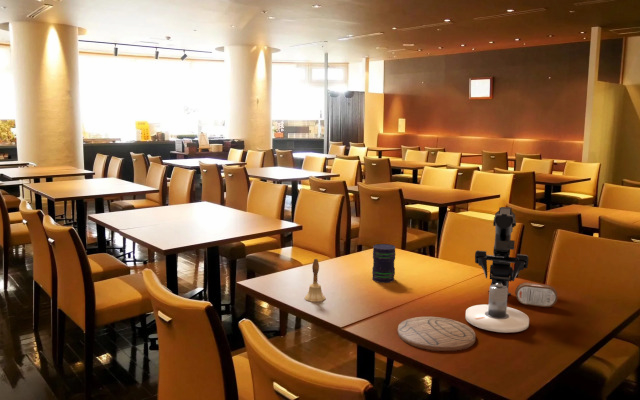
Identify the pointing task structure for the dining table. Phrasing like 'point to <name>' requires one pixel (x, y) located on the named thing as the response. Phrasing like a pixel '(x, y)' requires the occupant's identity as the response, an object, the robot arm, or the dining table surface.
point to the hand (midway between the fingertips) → (499, 279)
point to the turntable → (497, 319)
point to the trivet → (436, 334)
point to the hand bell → (315, 286)
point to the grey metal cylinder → (497, 300)
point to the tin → (536, 294)
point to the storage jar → (383, 263)
